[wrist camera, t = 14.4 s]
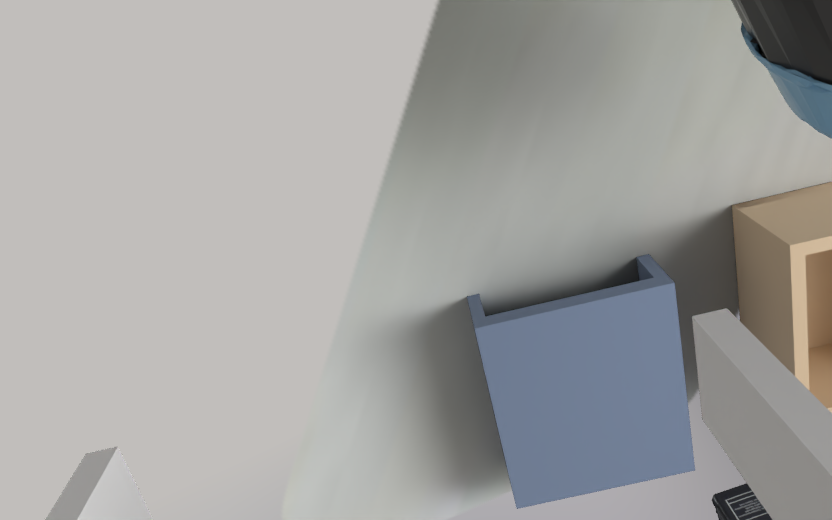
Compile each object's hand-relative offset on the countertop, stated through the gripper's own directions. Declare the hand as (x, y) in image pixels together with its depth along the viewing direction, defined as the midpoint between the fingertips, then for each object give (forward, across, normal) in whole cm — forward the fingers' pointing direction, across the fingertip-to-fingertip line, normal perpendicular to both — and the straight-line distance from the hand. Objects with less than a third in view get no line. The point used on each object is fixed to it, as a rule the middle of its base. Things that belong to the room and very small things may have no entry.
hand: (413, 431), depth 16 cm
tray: (+29, +24, -15) cm, 40 cm away
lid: (+29, +8, -18) cm, 35 cm away
